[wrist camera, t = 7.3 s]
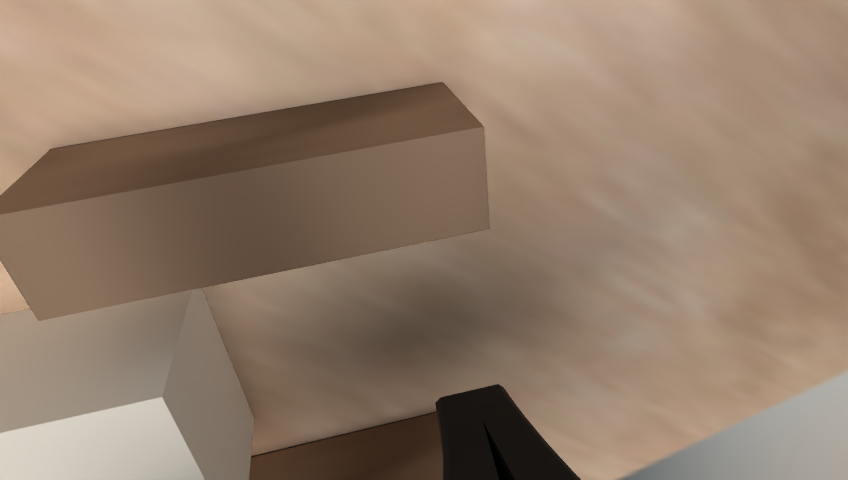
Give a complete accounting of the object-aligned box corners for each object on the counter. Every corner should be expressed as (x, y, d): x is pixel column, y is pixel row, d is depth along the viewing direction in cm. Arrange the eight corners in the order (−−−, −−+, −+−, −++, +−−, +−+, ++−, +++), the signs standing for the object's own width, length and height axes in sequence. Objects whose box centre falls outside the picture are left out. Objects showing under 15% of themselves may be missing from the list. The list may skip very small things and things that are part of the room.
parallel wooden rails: (443, 81, 12) (484, 126, 9) (476, 445, 18) (506, 531, 15) (50, 149, 11) (-25, 219, 8) (230, 507, 17) (219, 610, 14)
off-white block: (196, 272, 13) (161, 396, 10) (254, 415, 16) (242, 552, 12) (-28, 317, 12) (-150, 466, 9) (71, 457, 15) (5, 614, 12)
